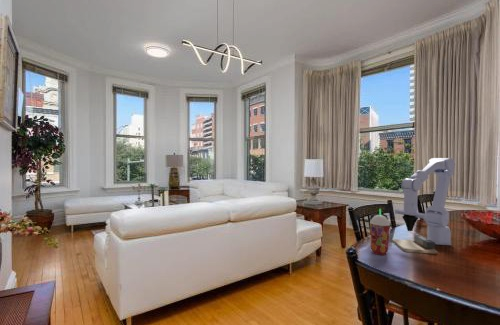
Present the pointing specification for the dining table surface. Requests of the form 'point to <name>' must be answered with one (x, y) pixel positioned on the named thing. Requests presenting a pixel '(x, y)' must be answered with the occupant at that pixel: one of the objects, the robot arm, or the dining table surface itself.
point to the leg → (424, 241)
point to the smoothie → (379, 234)
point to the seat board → (412, 246)
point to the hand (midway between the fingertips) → (410, 230)
